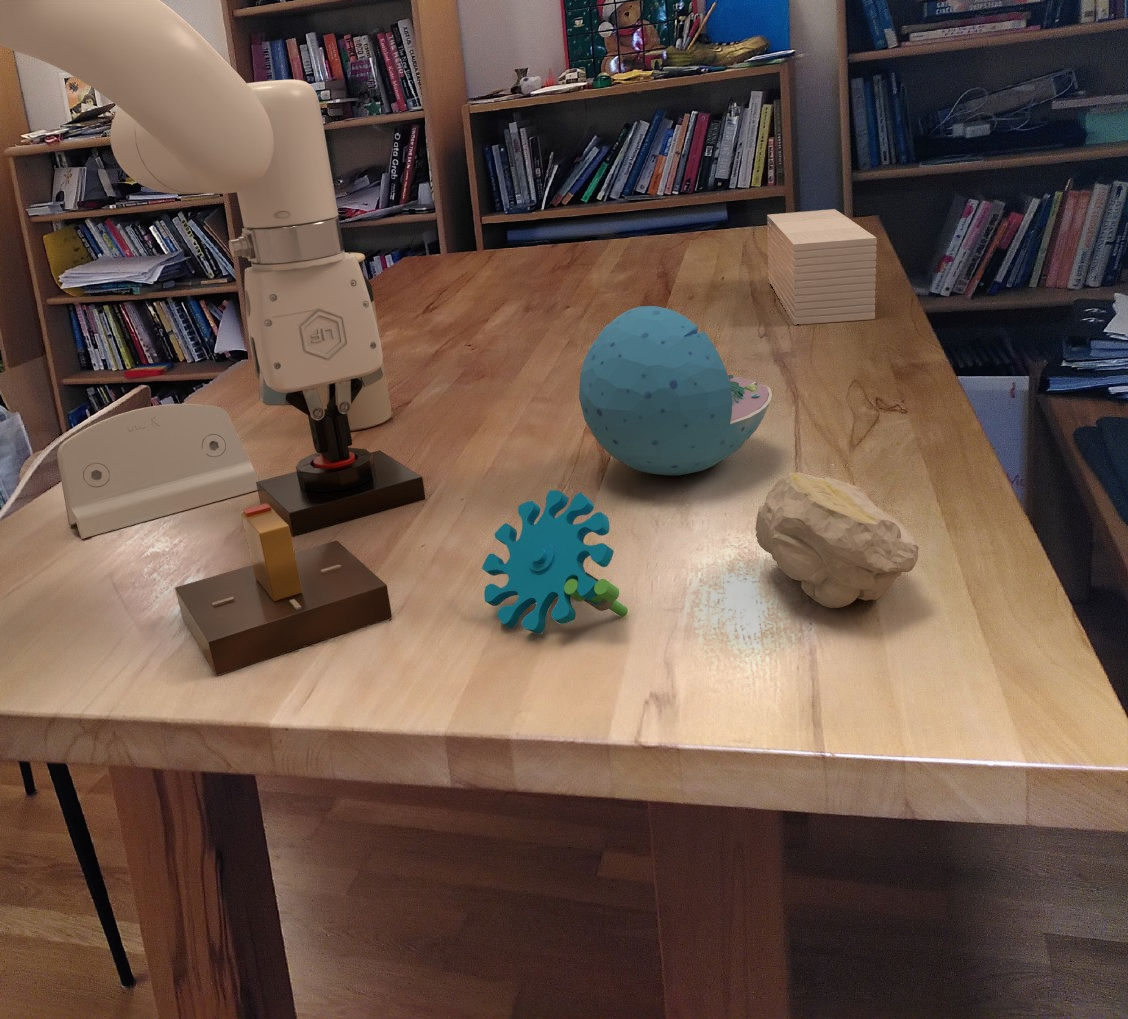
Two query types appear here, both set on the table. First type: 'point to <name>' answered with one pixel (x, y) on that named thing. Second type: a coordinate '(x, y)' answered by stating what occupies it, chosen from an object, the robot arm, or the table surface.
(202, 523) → the table surface
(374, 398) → the travel mug
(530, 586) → the gear
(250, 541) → the yellow block
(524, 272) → the table surface
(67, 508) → the hinge
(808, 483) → the beige rock
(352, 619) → the plate
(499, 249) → the table surface
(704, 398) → the educational model
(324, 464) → the button
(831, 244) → the grooved wooden block
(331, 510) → the alarm box
